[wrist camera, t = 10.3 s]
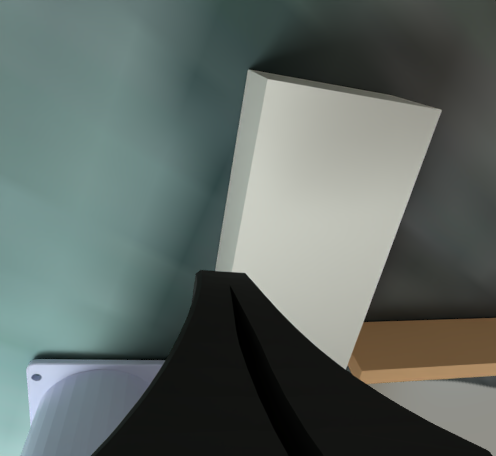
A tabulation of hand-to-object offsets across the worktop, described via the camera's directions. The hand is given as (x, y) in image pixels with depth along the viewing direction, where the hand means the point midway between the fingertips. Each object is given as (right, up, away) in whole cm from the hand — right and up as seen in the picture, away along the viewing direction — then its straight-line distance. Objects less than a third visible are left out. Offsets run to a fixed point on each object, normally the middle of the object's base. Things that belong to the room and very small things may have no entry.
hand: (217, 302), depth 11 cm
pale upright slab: (+3, +2, +10) cm, 11 cm away
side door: (+13, -4, +15) cm, 20 cm away
